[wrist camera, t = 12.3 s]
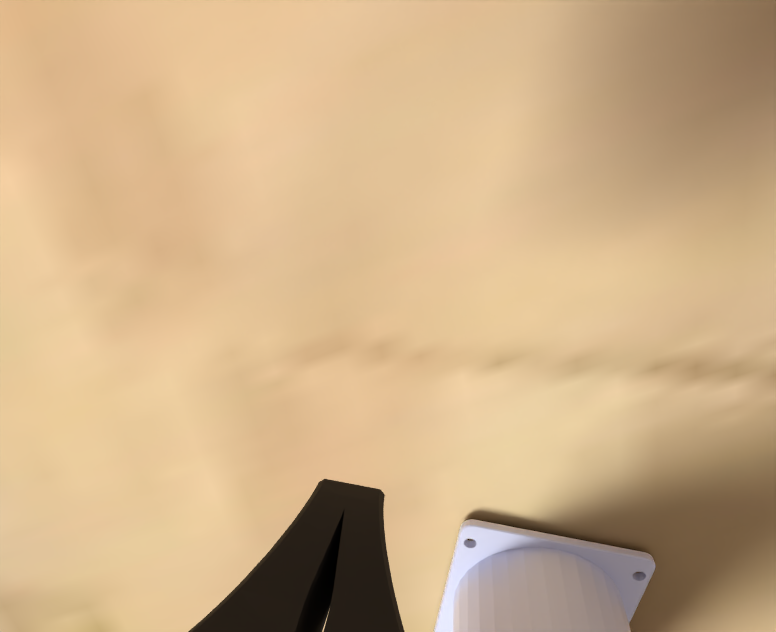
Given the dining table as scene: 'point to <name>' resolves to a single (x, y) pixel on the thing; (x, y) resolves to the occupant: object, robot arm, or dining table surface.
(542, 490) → the dining table surface
